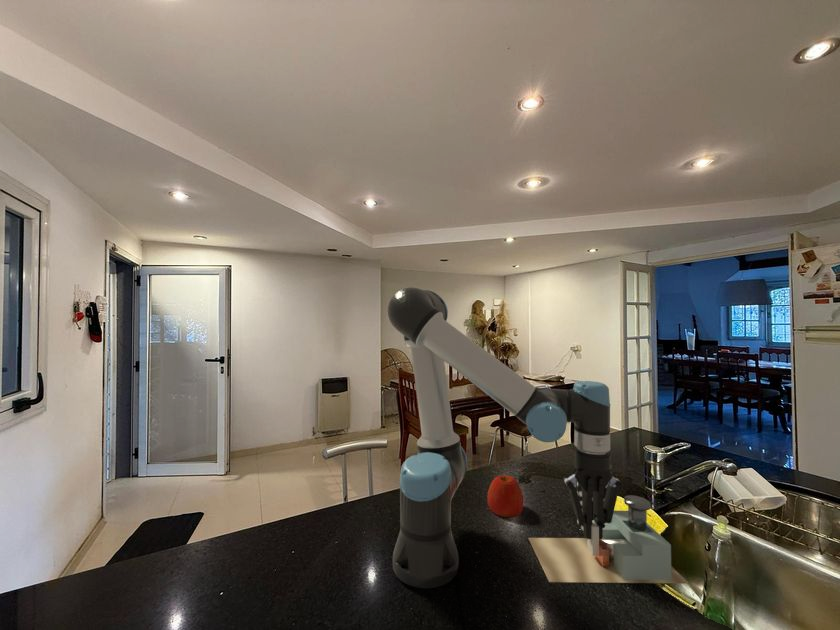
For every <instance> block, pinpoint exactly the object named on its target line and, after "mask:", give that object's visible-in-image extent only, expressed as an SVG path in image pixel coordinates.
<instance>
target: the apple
mask: <svg viewBox="0 0 840 630" xmlns="http://www.w3.org/2000/svg"><path fill="white" fill-rule="evenodd" d="M486 498H487V505H488V507H489V510H490V511H491V512H492V513H493V514H495V515H496V516H499V517H501V518H514V517H517V516H518V517H519V516H520V515H521V514H522V511H523V509H524V495H523V491H522V488H521V487H520V484H519V482H518V481H517V480H516V479H515V477H513V476H511V475H502V474H501V475H498V476H496V477H494V479H493V480H492V481H491V483H490V485H489V488H488V491H487V496H486Z"/></svg>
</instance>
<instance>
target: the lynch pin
mask: <svg viewBox="0 0 840 630" xmlns="http://www.w3.org/2000/svg"><path fill="white" fill-rule="evenodd" d="M613 544H631V543H630V542H629V541H628V540H627V539H599V556H595V557H596V559H597V560H598V562H599V563H600V564H601V566H602V567H603V568H609V560H614V555H613Z"/></svg>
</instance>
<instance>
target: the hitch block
mask: <svg viewBox="0 0 840 630" xmlns="http://www.w3.org/2000/svg"><path fill="white" fill-rule="evenodd" d="M593 521H594V520H593ZM604 525H605V528H603V537H602V539H627V540H628V541H629V542H630V543H631V544H613V555H614V568H615V569H616V570H617V572H618V573H619V574H620V576H621V577H622V578H623V579H624V580H671V566H672V544H671V543H670V542H669V541H668V540H666V538H664V537H663V536H662V535H661V534H660V533H658V532H657V531H656V530H655V528H653V527H652V526H651V525H650V524H648V523H647V530H645V531H639V530H635V529H633V528H631V527H630V526H629V524H628V510H614V513H613V517H612V521H611V523H605V524H604Z"/></svg>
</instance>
